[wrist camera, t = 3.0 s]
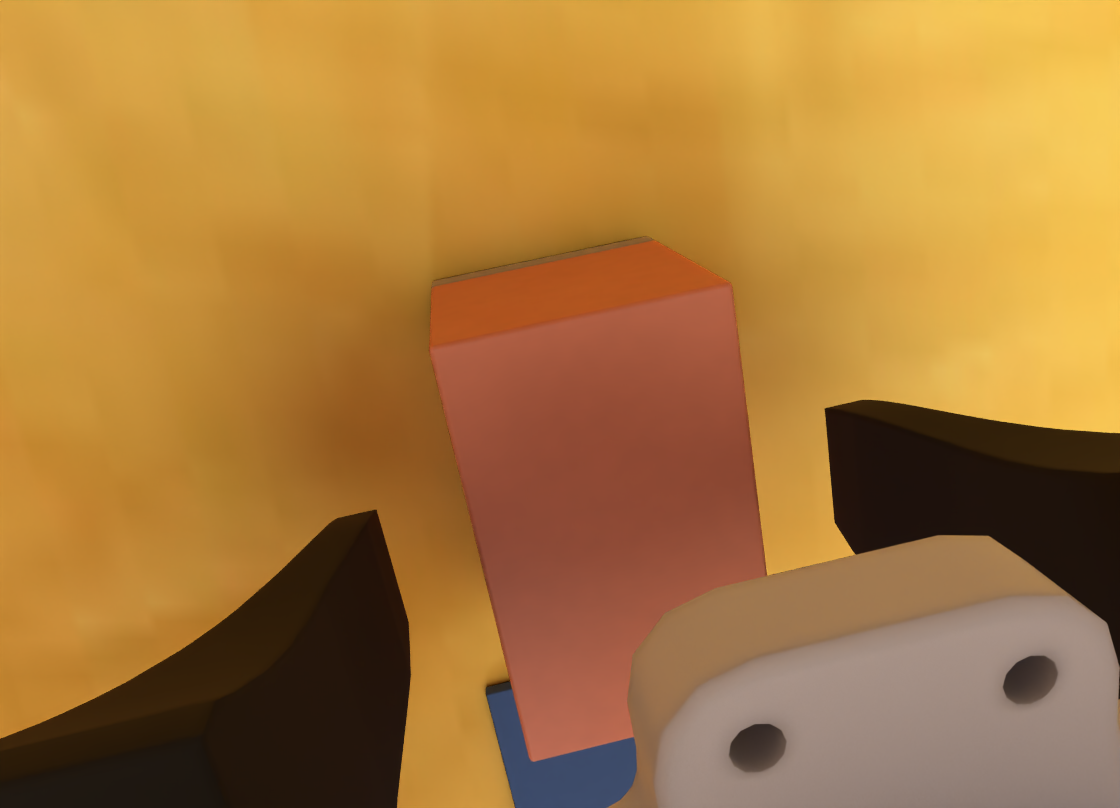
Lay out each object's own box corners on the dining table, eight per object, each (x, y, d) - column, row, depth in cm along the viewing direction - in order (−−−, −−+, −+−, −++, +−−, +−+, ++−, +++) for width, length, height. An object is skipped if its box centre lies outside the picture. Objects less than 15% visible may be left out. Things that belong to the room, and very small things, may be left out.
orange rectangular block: (507, 600, 18) (530, 764, 14) (430, 280, 16) (428, 347, 11) (696, 555, 19) (783, 701, 14) (648, 234, 16) (733, 281, 12)
